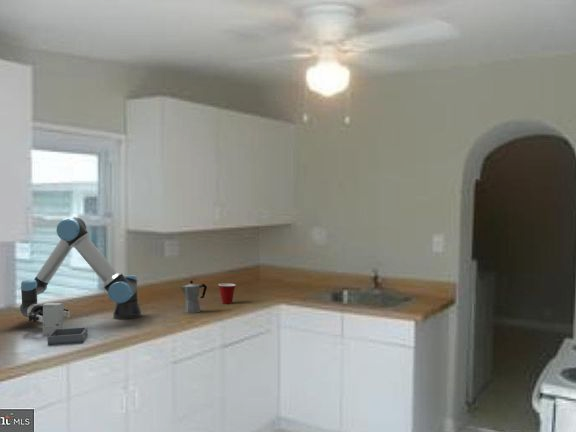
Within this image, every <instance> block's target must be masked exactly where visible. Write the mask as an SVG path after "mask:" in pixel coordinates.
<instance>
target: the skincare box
mask: <svg viewBox="0 0 576 432" xmlns="http://www.w3.org/2000/svg"><path fill="white" fill-rule="evenodd" d="M42 306H43V322H42V335H43V336H47V335H48V336H49V335H50V333H51V332H52V331H53V330H54V329H64V316H63V309H64V302H47V303H43V305H42Z"/></svg>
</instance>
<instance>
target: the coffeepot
mask: <svg viewBox="0 0 576 432" xmlns="http://www.w3.org/2000/svg"><path fill="white" fill-rule="evenodd" d="M189 282H190V283H189V284H186V285H183V286H180V287H179V288H180V289H181V290H182V291H183V293H184V298H185V304H184V313H185V314H197V313H200V312H201V306H200V303H199V302H200V301H199V298H200V299H203V298H205V294H206V291H207V289H208V287H207V285H206V284H205V283H198V284H196V283H193V282H194V281H193V280H190V281H189ZM200 288H203V290H202V294H201V295H202V296H200V297H199V295H200Z"/></svg>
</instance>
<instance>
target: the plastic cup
mask: <svg viewBox="0 0 576 432" xmlns="http://www.w3.org/2000/svg"><path fill="white" fill-rule="evenodd" d="M236 286H237V285H236V284H235V283H218V287H219V293H220V297H221V302H222V304H223V305H231V304H232V303H233V300H234V299H233V298H234V294H235V289H236Z"/></svg>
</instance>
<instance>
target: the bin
mask: <svg viewBox="0 0 576 432" xmlns="http://www.w3.org/2000/svg"><path fill="white" fill-rule="evenodd" d="M88 333H89V331H88V326H85V327H71V328H63V329H54V330H53V331H52V332H51V333H50V334H49V335H48V336H47V346H58V345H59V346H61V345H72V344H83V343H84V342H85V341H86V339H87V337H88V336H89V334H88Z"/></svg>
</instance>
